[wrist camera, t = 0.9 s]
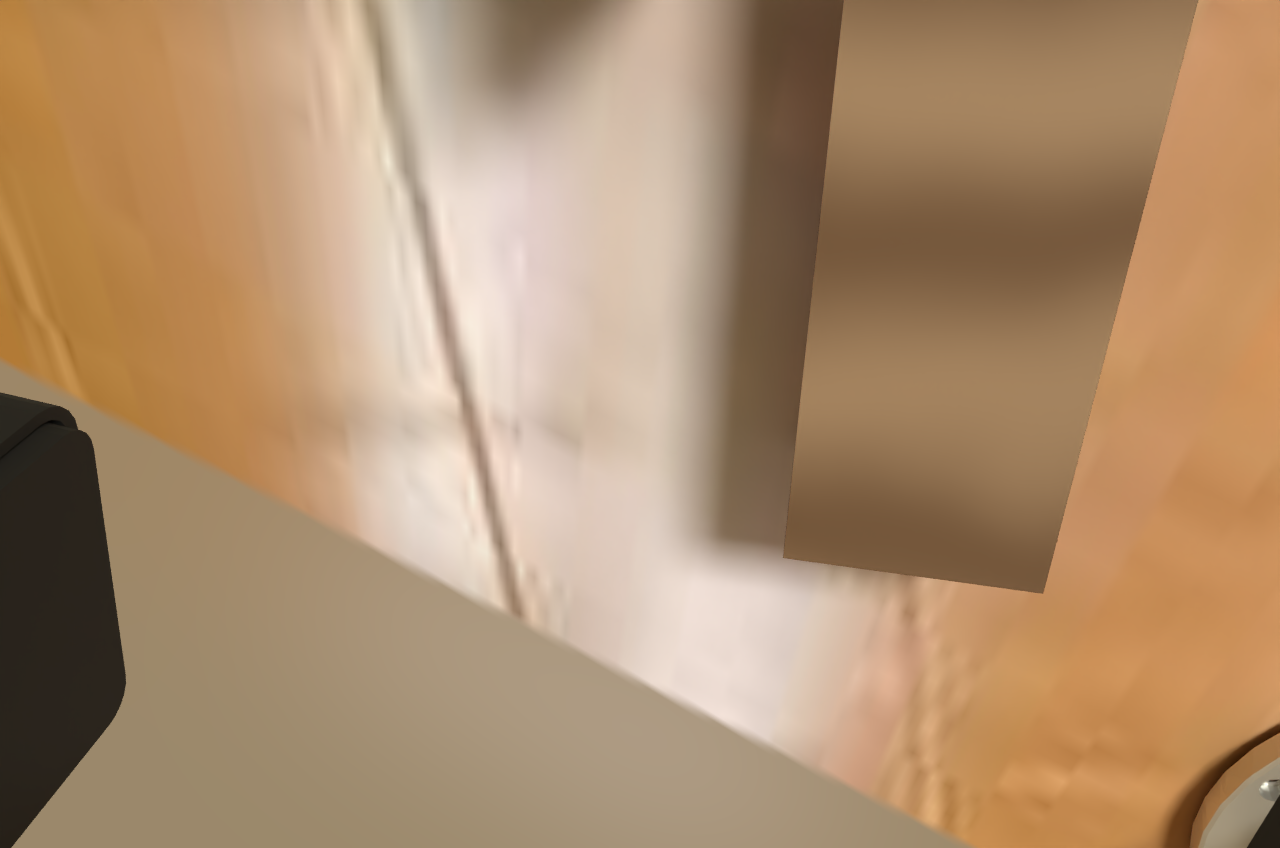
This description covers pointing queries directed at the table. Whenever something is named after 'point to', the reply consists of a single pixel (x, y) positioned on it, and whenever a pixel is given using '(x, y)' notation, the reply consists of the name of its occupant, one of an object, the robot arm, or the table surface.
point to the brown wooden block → (971, 274)
